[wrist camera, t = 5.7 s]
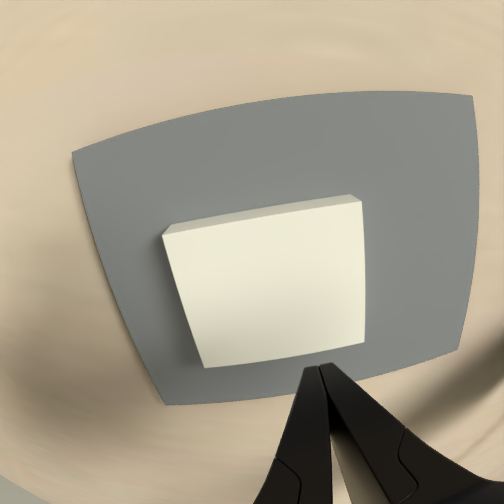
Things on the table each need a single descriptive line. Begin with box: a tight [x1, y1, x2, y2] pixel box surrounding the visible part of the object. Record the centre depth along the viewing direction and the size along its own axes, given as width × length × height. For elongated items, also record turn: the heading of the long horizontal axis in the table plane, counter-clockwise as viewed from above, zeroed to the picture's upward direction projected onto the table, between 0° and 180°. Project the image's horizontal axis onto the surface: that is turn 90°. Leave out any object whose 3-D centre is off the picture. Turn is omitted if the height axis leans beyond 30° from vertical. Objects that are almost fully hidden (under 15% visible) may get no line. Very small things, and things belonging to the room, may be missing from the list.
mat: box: [72, 91, 479, 405], centre depth 14 cm, size 16×20×1 cm
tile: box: [162, 194, 365, 368], centre depth 14 cm, size 7×2×8 cm
